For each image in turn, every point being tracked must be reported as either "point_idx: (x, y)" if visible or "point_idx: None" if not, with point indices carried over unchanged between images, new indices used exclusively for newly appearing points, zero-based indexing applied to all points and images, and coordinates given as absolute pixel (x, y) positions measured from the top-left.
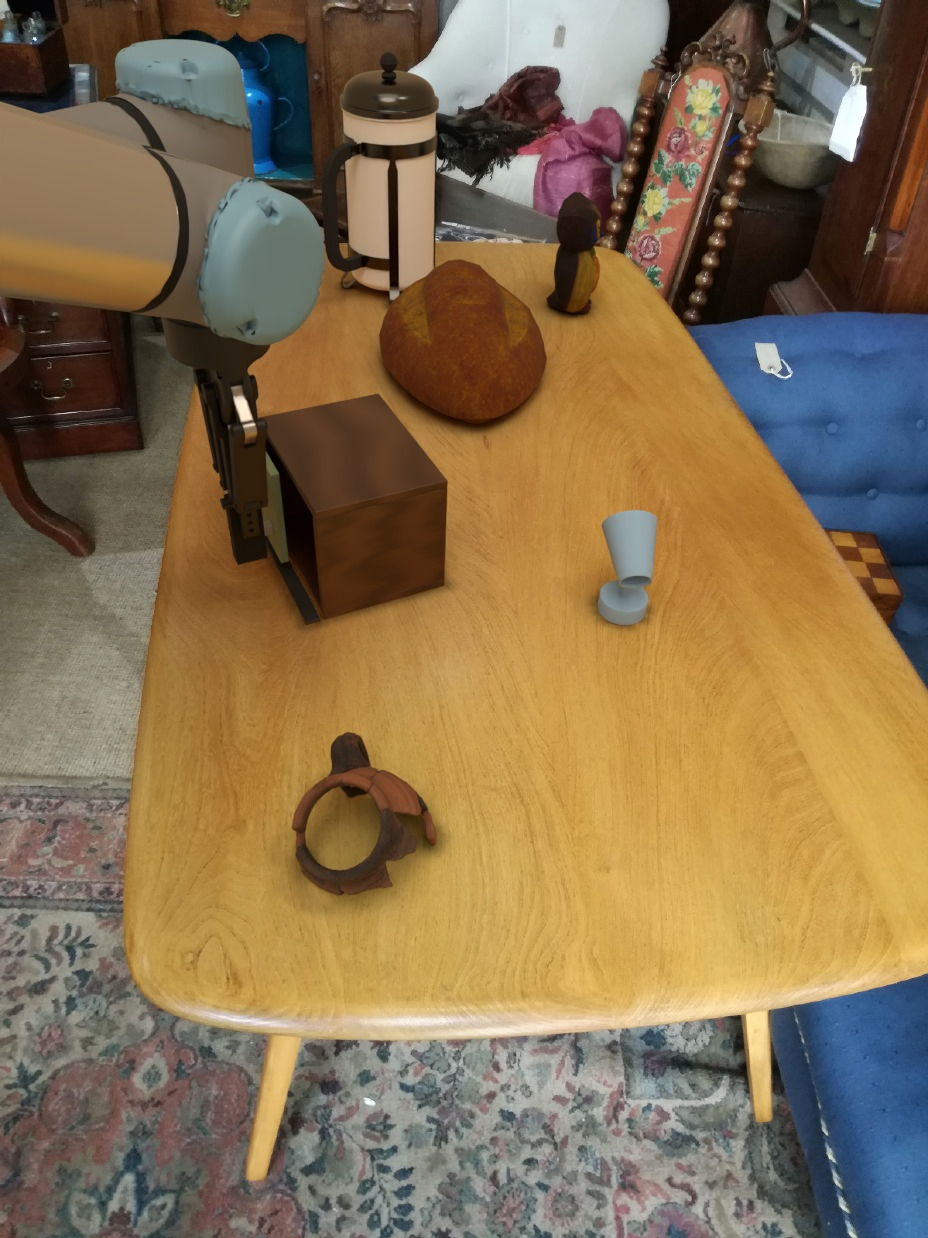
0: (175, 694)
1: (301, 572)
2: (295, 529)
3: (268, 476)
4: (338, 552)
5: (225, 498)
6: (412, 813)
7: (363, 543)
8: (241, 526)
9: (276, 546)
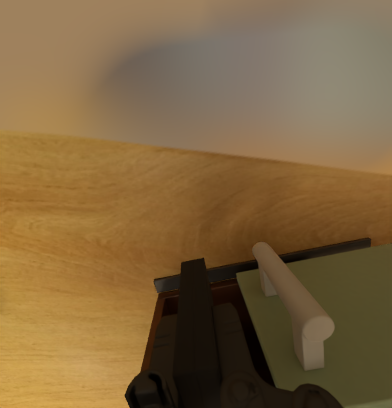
0: (72, 159)
1: (220, 287)
2: None
3: None
4: None
5: (167, 398)
6: None
7: None
8: (163, 338)
9: (250, 279)
